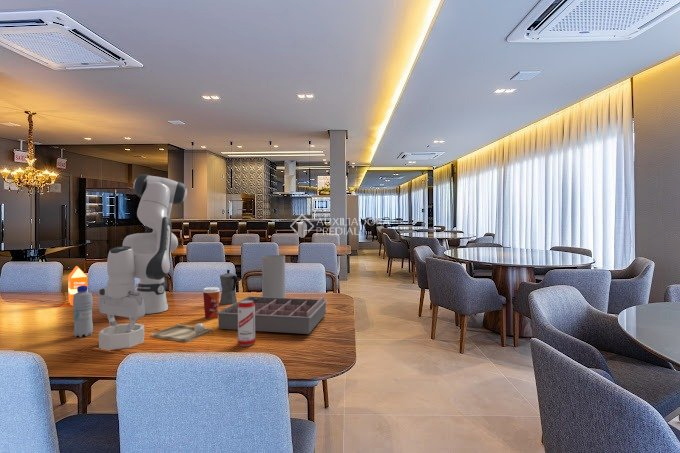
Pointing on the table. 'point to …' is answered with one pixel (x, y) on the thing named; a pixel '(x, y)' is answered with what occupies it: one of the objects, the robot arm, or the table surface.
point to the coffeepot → (228, 288)
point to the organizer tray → (278, 314)
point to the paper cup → (211, 302)
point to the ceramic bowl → (120, 337)
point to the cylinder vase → (273, 276)
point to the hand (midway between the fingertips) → (121, 327)
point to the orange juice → (76, 282)
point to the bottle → (82, 312)
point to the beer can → (246, 322)
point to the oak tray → (180, 333)
